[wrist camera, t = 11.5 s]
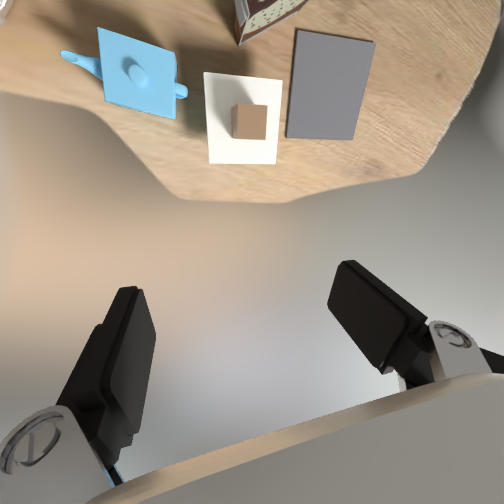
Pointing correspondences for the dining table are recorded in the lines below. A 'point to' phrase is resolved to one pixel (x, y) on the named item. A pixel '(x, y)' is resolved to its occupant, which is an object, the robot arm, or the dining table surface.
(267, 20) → the food container
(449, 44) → the dining table surface
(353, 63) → the mat
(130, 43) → the teapot
